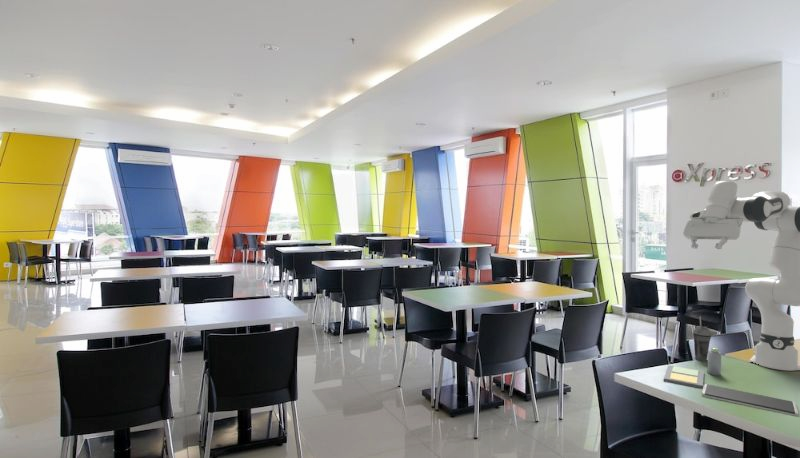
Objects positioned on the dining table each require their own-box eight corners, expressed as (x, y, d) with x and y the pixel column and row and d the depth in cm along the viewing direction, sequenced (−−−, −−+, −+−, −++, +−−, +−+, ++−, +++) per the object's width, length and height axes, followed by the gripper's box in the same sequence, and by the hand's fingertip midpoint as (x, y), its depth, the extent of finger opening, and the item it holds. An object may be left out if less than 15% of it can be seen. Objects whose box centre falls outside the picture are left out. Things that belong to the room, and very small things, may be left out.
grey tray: (798, 418, 154) (799, 413, 154) (701, 397, 170) (701, 392, 170) (795, 406, 164) (795, 401, 164) (704, 387, 180) (704, 383, 180)
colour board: (668, 367, 203) (668, 364, 203) (703, 373, 196) (704, 370, 196) (663, 381, 185) (663, 377, 185) (702, 388, 178) (703, 385, 178)
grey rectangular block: (707, 371, 200) (708, 346, 200) (720, 373, 197) (721, 348, 197) (707, 373, 196) (708, 348, 196) (720, 376, 194) (721, 350, 193)
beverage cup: (713, 362, 213) (715, 318, 213) (695, 360, 215) (697, 317, 215) (706, 357, 221) (708, 315, 220) (689, 356, 222) (690, 314, 222)
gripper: (748, 220, 179) (738, 252, 176) (695, 221, 198) (685, 251, 195) (739, 212, 177) (729, 245, 174) (686, 214, 196) (676, 244, 193)
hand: (705, 248), depth 185 cm, fingers open, 8 cm apart
